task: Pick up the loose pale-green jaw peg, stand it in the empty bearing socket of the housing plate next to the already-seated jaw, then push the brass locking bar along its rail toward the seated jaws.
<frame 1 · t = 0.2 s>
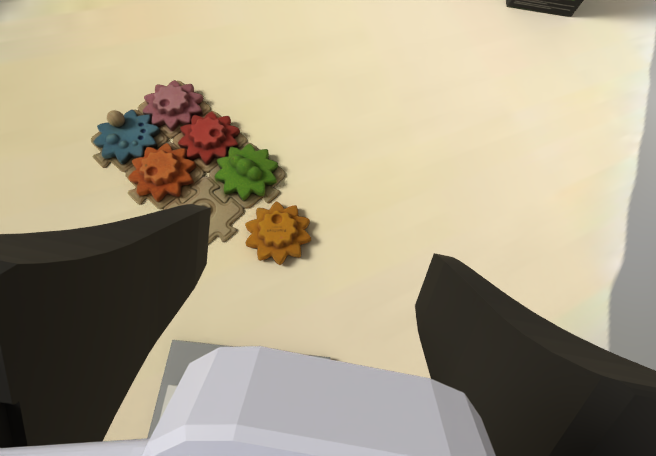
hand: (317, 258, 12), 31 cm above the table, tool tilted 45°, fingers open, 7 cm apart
gear puzzle: (209, 183, 48), on the table
housing: (240, 422, 37), on the table
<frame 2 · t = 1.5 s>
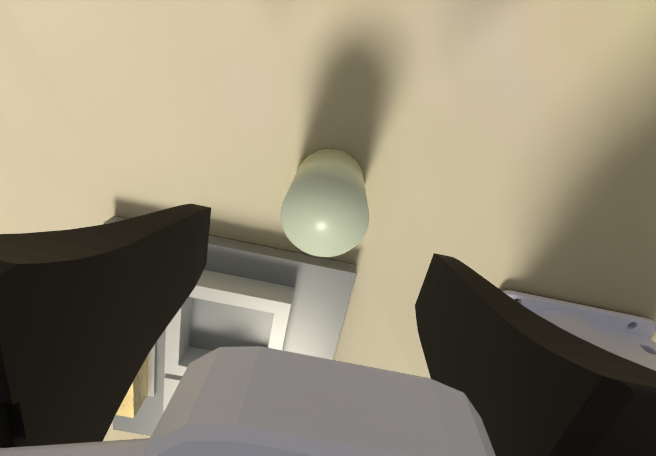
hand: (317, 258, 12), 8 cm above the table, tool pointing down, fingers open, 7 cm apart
jaw peg: (329, 182, 20), on the table
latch: (129, 369, 23), point 2 cm above the table, slide at 0.0 cm
housing: (224, 350, 25), on the table
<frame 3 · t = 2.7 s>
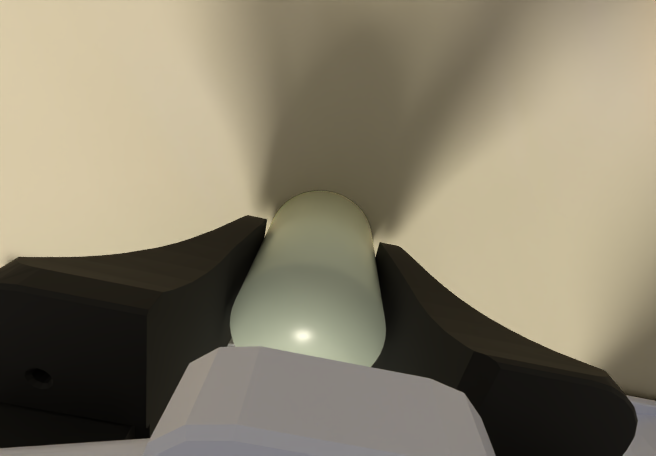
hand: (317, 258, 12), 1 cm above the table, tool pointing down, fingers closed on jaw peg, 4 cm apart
jaw peg: (320, 239, 13), on the table, touching gripper
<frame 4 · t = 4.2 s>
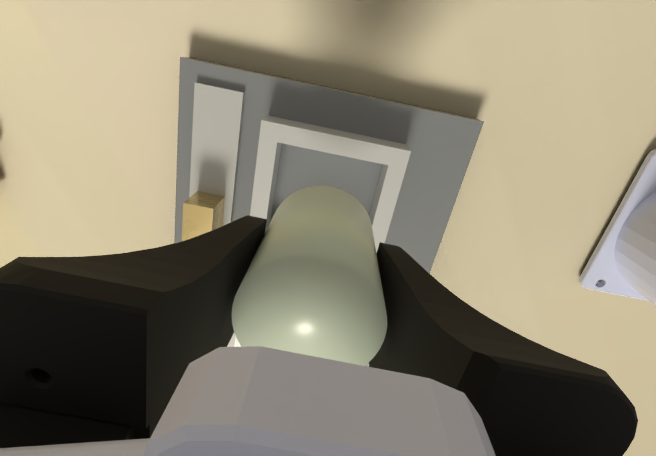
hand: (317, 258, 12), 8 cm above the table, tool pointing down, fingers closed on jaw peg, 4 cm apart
jaw peg: (321, 234, 13), point 7 cm above the table, touching gripper
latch: (201, 253, 19), point 2 cm above the table, slide at 0.0 cm
housing: (305, 241, 21), on the table
when the fingers open (3 cm above the table, at t = 5.6 s): jaw peg stays where it is, resting on housing.
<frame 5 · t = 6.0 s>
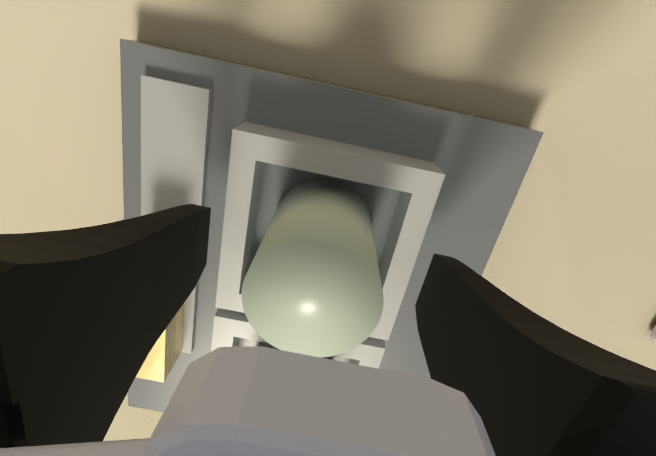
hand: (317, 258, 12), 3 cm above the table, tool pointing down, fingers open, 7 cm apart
jaw peg: (322, 224, 14), point 1 cm above the table, touching housing
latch: (157, 304, 14), point 2 cm above the table, slide at 0.0 cm
housing: (297, 283, 16), on the table
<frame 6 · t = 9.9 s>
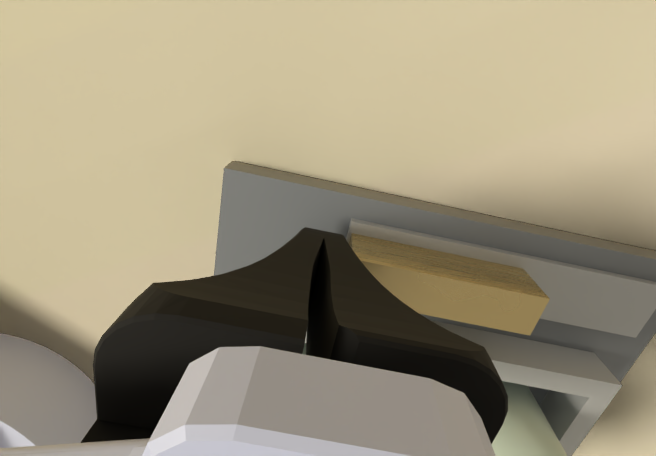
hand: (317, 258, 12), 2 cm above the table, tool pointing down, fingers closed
jaw peg: (483, 398, 15), point 1 cm above the table, touching housing
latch: (437, 282, 12), point 2 cm above the table, slide at 0.0 cm, touching gripper
housing: (404, 356, 16), on the table
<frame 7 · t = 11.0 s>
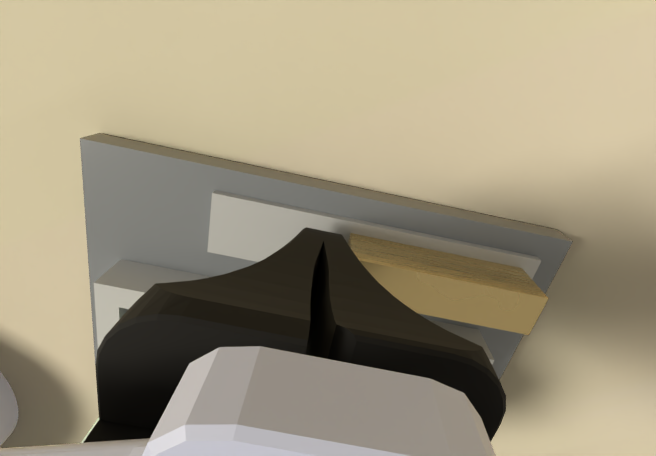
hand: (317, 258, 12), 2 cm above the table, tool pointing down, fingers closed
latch: (436, 282, 12), point 2 cm above the table, slide at 4.6 cm, touching gripper
housing: (300, 336, 16), on the table
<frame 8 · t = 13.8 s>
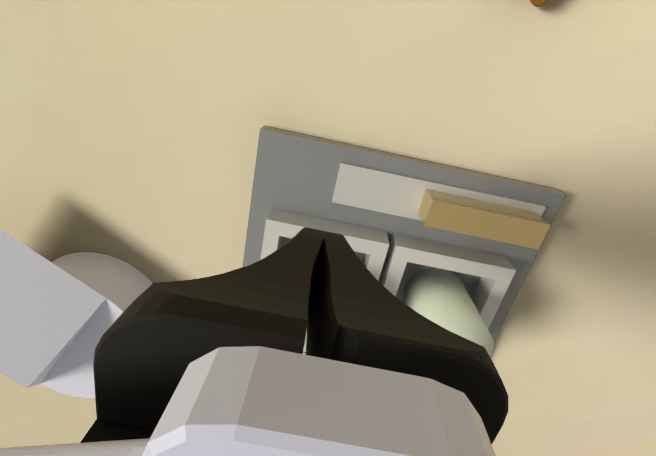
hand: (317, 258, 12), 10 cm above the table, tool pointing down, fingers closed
jaw peg: (433, 292, 23), point 1 cm above the table, touching housing
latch: (480, 218, 19), point 2 cm above the table, slide at 4.6 cm
wedge on round base: (79, 291, 25), on the table
housing: (379, 266, 23), on the table
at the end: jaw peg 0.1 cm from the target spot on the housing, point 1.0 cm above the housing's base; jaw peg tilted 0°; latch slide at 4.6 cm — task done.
